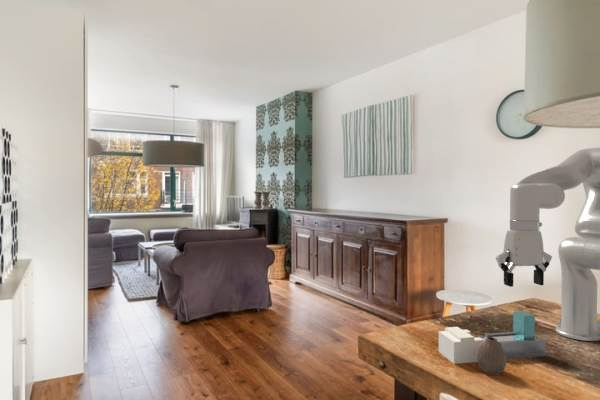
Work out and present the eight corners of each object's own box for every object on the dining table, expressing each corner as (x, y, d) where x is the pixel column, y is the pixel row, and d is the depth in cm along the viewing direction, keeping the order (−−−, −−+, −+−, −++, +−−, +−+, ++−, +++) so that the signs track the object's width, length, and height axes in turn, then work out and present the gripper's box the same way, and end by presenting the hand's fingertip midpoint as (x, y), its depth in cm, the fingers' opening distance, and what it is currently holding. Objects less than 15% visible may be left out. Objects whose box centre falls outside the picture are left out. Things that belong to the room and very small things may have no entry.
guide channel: (526, 345, 122) (526, 330, 122) (546, 355, 114) (546, 340, 114) (484, 348, 120) (484, 333, 120) (501, 359, 112) (501, 343, 112)
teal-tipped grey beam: (524, 343, 120) (524, 310, 120) (535, 349, 116) (535, 315, 116) (481, 347, 118) (481, 313, 118) (491, 353, 114) (491, 318, 113)
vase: (472, 366, 108) (472, 334, 108) (496, 365, 109) (496, 333, 108) (485, 378, 101) (485, 344, 101) (512, 377, 102) (512, 343, 101)
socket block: (466, 349, 119) (466, 326, 119) (484, 361, 111) (484, 336, 111) (438, 351, 118) (438, 328, 118) (453, 363, 110) (454, 338, 109)
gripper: (541, 224, 122) (540, 281, 122) (489, 225, 119) (488, 283, 119) (561, 227, 114) (560, 286, 115) (506, 228, 112) (505, 289, 112)
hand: (523, 284), depth 117 cm, fingers open, 9 cm apart
